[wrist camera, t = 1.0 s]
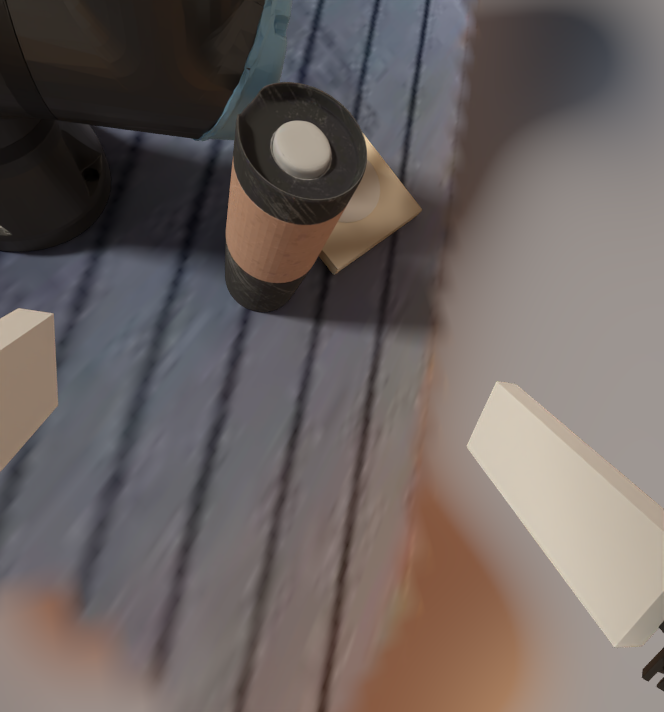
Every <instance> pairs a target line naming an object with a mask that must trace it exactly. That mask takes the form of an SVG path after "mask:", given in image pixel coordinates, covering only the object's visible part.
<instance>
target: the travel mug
mask: <svg viewBox="0 0 664 712" xmlns="http://www.w3.org/2000/svg"><path fill="white" fill-rule="evenodd" d="M366 164H367V147H366V142H365V138H364V136H363V133H362V131H361V129H360V127H359V125H358V123H357V122H356V120H355V118H354V117H353V116H352V115H351V113H350V112H349V111H348V110H347V109H346V108H345V107H344V106H343V105H342V104H341V103H340V102H338V101H337V100H336V99H334V98H333V97H332V96H330V95H329V94H327V93H325V92H323V91H321V90H319V89H317V88H314V87H311V86H308V85H305V84H300V83H292V82H280V83H273V84H269V85H266V86H264V87H263V88H262V89H261V90H260V91H259V93H258V94H257V95H256V97H255V98H254V99H253V100H252V101H251V102H250V104H249V105H248V106H247V107H246V108H245V109H244V110H243V111H242V112H241V113H240V114H238V115H237V118H236V127H235V140H234V151H233V161H232V172H231V182H230V192H229V203H228V213H227V223H226V245H225V279H226V285H227V288H228V290H229V292H230V294H231V295H232V297H233V298H234V299H235V300H236V301H237V302H238V303H239V304H240V305H242V306H243V307H245V308H247V309H249V310H253V311H257V312H269V311H273V310H276V309H278V308H280V307H282V306H283V305H284V304H286V303H287V302H288V300H289V299H290V298H291V297H292V295H293V294H294V292H295V291H296V289H297V288H298V287H299V285H300V284H301V282H302V281H303V279H304V278H305V276H306V275H307V273H308V272H309V271H310V269H311V268H312V266H313V264H314V263H315V261H316V259H317V257H318V256H319V254H320V252H321V250H322V249H323V247H324V245H325V243H326V242H327V240H328V238H329V236H330V235H331V233H332V231H333V229H334V227H335V226H336V224H337V222H338V220H339V219H340V217H341V215H342V213H343V212H344V210H345V208H346V206H347V205H348V203H349V201H350V199H351V198H352V196H353V194H354V192H355V191H356V189H357V187H358V185H359V184H360V182H361V180H362V178H363V175H364V172H365V169H366Z"/></svg>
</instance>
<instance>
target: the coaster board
mask: <svg viewBox="0 0 664 712" xmlns="http://www.w3.org/2000/svg"><path fill="white" fill-rule="evenodd" d="M363 136H364V138H365V142H366V147H367V164H366V169H365V172H364V175H363V178H362V180H361V182H360V184H359V185H358V187H357V189H356V191H355V192H354V194H353V196H352V198H351V199H350V201H349V203H348V205H347V206H346V208H345V210H344V212H343V213H342V215H341V217H340V219H339V220H338V222H337V224H336V226H335V227H334V229H333V231H332V233H331V235H330V236H329V238H328V240H327V242H326V243H325V245H324V247H323V249H322V250H321V252H320V254H319V257H320V258H321V260H322V261H323V262H324V263H325V265H326V266H327V267H328V269H329V270H330V271H331V272H332V274H333V275H335V274H336V273H338V272H339V271H341V270H342V269H343V268H345V267H346V266H348V265H349V264H350V263H352V262H353V261H355V260H356V259H357V258H359V257H360V256H362V255H363V254H364V253H366V252H367V251H369V250H370V249H371V248H373V247H374V246H376V245H377V244H378V243H380V242H381V241H383V240H384V239H385V238H387V237H388V236H390V235H391V234H392V233H394V232H395V231H397V230H398V229H399V228H401V227H402V226H404V225H405V224H406V223H408V222H409V221H411V220H412V219H413V218H415V217H416V216H417V215H418V214H419V213H420V212H421V211H422V209H421V207H420V206H419V205H418V204H417V202H416V201H415V200H414V198H413V197H412V196H411V195H410V193H409V192H408V191H407V189H406V188H405V187H404V185H403V184H402V183H401V182H400V180H399V179H398V178H397V176H396V175H395V174H394V173H393V171H392V170H391V169H390V167H389V166H388V165H387V164H386V162H385V161H384V160H383V158H382V157H381V156H380V155H379V153H378V152H377V151H376V149H375V148H374V147H373V146H372V144H371V143H370V142H369V140H368V139H367V138H366V137H365V135H364V134H363Z"/></svg>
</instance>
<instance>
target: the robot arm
mask: <svg viewBox="0 0 664 712" xmlns="http://www.w3.org/2000/svg"><path fill="white" fill-rule="evenodd" d="M291 7H292V0H0V250H3V251H32V250H39V249H45V248H49V247H53V246H56V245H59V244H61V243H64V242H66V241H68V240H71V239H72V238H74V237H76V236H78V235H79V234H81V233H82V232H84V231H85V230H86V229H87V228H89V227H90V226H91V225H92V224H93V223H94V222H95V221H96V220H97V218H98V217H99V216H100V214H101V213H102V211H103V209H104V208H105V206H106V203H107V201H108V198H109V194H110V189H111V174H110V169H109V165H108V162H107V159H106V156H105V154H104V151H103V148H102V146H101V144H100V141H99V139H98V138H97V136H96V134H95V133H94V131H93V130H92V128H91V127H90V125H95V126H102V127H110V128H118V129H125V130H133V131H140V132H148V133H155V134H163V135H171V136H178V137H186V138H192V139H194V140H196V141H199V140H201V141H205V140H208V139H223V140H235V127H236V118H237V115H238V114H240V113H241V112H242V111H243V110H244V109H245V108H246V107H247V106H248V105H249V104H250V102H251V101H252V100H253V99H254V98H255V97H256V95H257V94H258V93H259V91H260V90H261V89H262V88H263V87H264V86H266V85H269V84H273V83H279V81H280V77H281V73H282V69H283V64H284V59H285V53H286V47H287V39H286V29H287V26H288V23H289V19H290V15H291ZM57 406H58V392H57V372H56V352H55V331H54V314H53V313H46V312H40V311H33V310H27V309H20V308H18V309H16V310H15V311H13V312H11V313H9V314H8V315H6V316H4V317H2V318H1V319H0V472H1V471H2V469H3V468H4V467H5V466H6V465H7V464H8V462H9V461H10V460H11V459H12V458H13V457H14V456H15V454H16V453H17V452H18V451H19V450H20V449H21V448H22V446H23V445H24V444H25V443H26V442H27V441H28V439H29V438H30V437H31V436H32V435H33V434H34V433H35V431H36V430H37V429H38V428H39V427H40V426H41V424H42V423H43V422H44V421H45V420H46V419H47V418H48V416H49V415H50V414H51V413H52V412H53V411H54V409H55V408H56V407H57ZM466 447H467V448H468V449H469V451H470V452H471V454H472V455H473V456H474V458H475V459H476V460H477V462H478V463H479V465H480V466H481V467H482V469H483V470H484V471H485V473H486V474H487V475H488V477H489V478H490V479H491V481H492V482H493V484H494V485H495V486H496V488H497V489H498V490H499V492H500V493H501V494H502V496H503V497H504V499H505V500H506V501H507V503H508V504H509V505H510V506H511V508H512V509H513V510H514V512H515V513H516V515H517V516H518V518H519V519H520V520H521V522H522V523H523V524H524V526H525V527H526V528H527V530H528V531H529V532H530V534H531V535H532V536H533V538H534V539H535V541H536V542H537V543H538V545H539V546H540V547H541V549H542V550H543V551H544V553H545V554H546V555H547V557H548V558H549V560H550V561H551V562H552V564H553V565H554V566H555V568H556V569H557V570H558V572H559V573H560V575H561V576H562V577H563V579H564V580H565V581H566V583H567V584H568V585H569V587H570V588H571V589H572V591H573V592H574V594H575V595H576V596H577V598H578V599H579V600H580V602H581V603H582V604H583V605H584V607H585V608H586V610H587V611H588V612H589V614H590V615H591V617H592V618H593V619H594V621H595V622H596V623H597V625H598V626H599V627H600V629H601V630H602V631H603V633H604V634H605V636H606V637H607V638H608V640H609V641H610V642H611V644H612V645H613V646H614V648H618V647H638V646H643V645H644V644H645V643H646V641H647V640H648V639H649V638H650V637H651V636H652V635H653V634H654V633H655V632H656V631H657V629H658V628H660V629H661V630H662V632H663V633H664V509H663V508H662V507H661V506H659V505H658V504H657V503H656V502H655V501H654V500H652V499H651V498H650V497H649V496H648V495H646V494H645V493H644V492H643V491H642V490H640V489H639V488H638V487H637V486H636V485H635V484H633V483H632V482H631V481H630V480H629V479H628V478H626V477H625V476H624V475H623V474H621V473H620V472H619V471H618V470H617V469H616V468H615V467H613V466H612V465H611V464H610V463H608V462H607V461H606V460H605V459H604V458H603V457H602V456H600V455H599V454H598V453H596V451H594V450H593V449H592V448H591V447H590V446H589V445H587V444H586V443H585V442H584V441H583V440H581V439H580V438H579V437H578V436H577V435H575V434H574V433H573V432H572V431H570V430H569V429H568V428H567V427H566V426H565V425H564V424H562V423H561V422H560V421H559V420H558V419H557V418H555V417H554V416H553V415H552V414H551V413H549V412H548V411H547V410H546V409H545V408H543V407H542V406H541V405H540V404H539V403H538V402H536V401H535V400H534V399H533V398H532V397H530V396H529V395H528V394H527V393H526V392H525V391H523V390H522V389H521V388H520V387H519V386H517V385H516V384H512V383H505V382H499V381H497V382H496V384H495V386H494V388H493V390H492V392H491V395H490V397H489V399H488V401H487V403H486V405H485V407H484V410H483V412H482V414H481V416H480V418H479V420H478V423H477V425H476V427H475V429H474V431H473V433H472V436H471V438H470V440H469V442H468V444H467V446H466ZM657 672H660V673H663V674H664V648H663V649H662V650H661V651H660V652H659V653H658V654H657V655H656V656H655V657H654V658H653V659H652V660H651V661H650V662H649V663H648V665H646V666H645V668H644V669H643V672H642V678H643V679H645V680H646V681H649V680H650V679H651V678H652V677H653V676H654V675H655V674H656V673H657ZM657 687H658V688H659V689H661V690H663V691H664V678H663V679H662V680H660V682H659V683H658V684H657Z"/></svg>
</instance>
